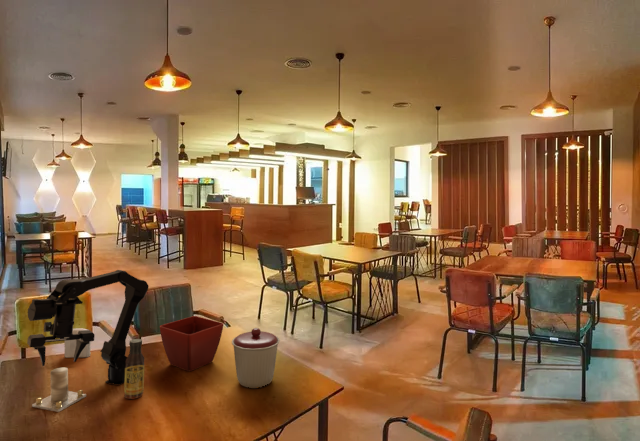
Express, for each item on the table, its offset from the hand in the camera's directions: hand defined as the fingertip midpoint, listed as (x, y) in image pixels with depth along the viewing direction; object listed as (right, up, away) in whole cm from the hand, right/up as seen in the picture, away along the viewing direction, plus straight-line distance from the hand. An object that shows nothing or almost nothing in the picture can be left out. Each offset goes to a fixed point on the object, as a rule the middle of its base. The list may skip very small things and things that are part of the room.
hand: (59, 363), depth 138 cm
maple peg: (0, -12, +1) cm, 12 cm away
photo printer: (-17, -11, +40) cm, 45 cm away
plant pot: (+34, -12, +35) cm, 50 cm away
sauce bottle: (+23, -14, +6) cm, 27 cm away
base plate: (0, -13, +1) cm, 13 cm away
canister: (+64, -14, +18) cm, 68 cm away
